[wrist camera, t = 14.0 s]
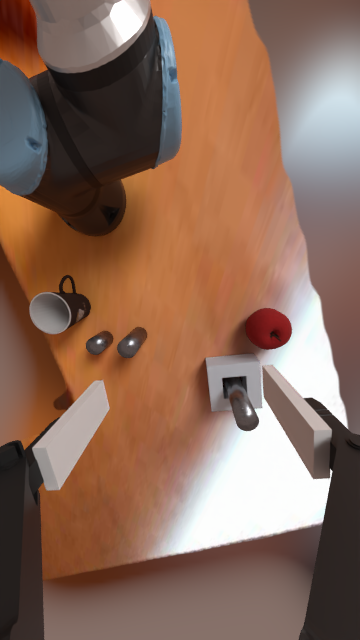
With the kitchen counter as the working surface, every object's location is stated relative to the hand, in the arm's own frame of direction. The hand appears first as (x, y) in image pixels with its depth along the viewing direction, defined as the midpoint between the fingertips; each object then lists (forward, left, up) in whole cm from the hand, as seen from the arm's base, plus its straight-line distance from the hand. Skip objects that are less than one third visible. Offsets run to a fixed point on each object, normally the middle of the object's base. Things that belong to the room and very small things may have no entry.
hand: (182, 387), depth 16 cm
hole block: (+18, +9, -33) cm, 38 cm away
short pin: (+4, -22, -33) cm, 40 cm away
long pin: (+18, +9, -33) cm, 38 cm away
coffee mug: (-6, -26, -33) cm, 42 cm away
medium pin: (+4, -13, -33) cm, 35 cm away
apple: (+5, +17, -33) cm, 38 cm away
